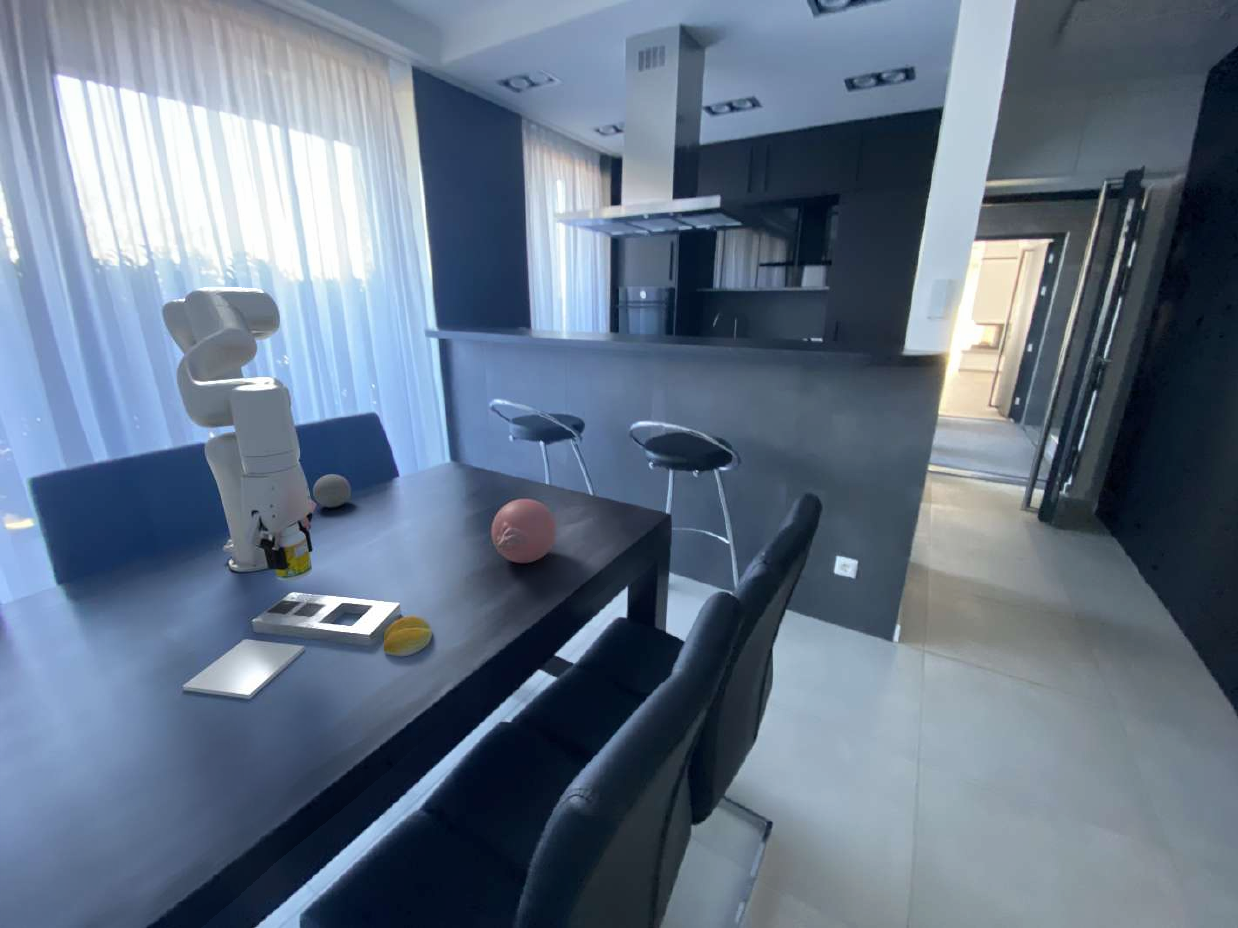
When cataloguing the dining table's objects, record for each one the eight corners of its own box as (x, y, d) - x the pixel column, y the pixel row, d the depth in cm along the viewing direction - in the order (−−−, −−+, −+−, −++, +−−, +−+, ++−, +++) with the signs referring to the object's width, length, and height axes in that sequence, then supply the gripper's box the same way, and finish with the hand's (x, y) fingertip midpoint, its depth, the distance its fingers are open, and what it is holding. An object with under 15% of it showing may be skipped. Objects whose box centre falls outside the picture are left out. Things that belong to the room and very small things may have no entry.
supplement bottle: (319, 568, 91) (310, 520, 88) (294, 584, 86) (283, 533, 83) (295, 564, 92) (285, 516, 89) (268, 579, 87) (257, 528, 84)
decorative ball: (360, 501, 158) (355, 471, 155) (336, 514, 148) (331, 482, 145) (333, 498, 160) (328, 468, 157) (308, 510, 151) (302, 479, 148)
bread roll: (383, 663, 89) (380, 644, 88) (386, 633, 97) (383, 615, 96) (432, 652, 92) (430, 634, 90) (431, 624, 100) (429, 606, 98)
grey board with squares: (254, 632, 96) (251, 620, 95) (293, 602, 106) (291, 591, 105) (371, 645, 93) (369, 633, 92) (401, 613, 102) (399, 602, 102)
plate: (183, 689, 82) (182, 685, 82) (245, 642, 93) (244, 639, 93) (249, 698, 80) (248, 694, 80) (304, 649, 92) (304, 646, 91)
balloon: (469, 577, 116) (463, 516, 111) (514, 540, 134) (511, 486, 129) (528, 590, 111) (525, 526, 107) (567, 550, 129) (566, 494, 125)
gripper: (287, 445, 91) (305, 536, 97) (203, 477, 75) (230, 584, 81) (326, 447, 90) (342, 539, 96) (250, 480, 74) (274, 587, 80)
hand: (291, 558), depth 88 cm, fingers closed on supplement bottle, 5 cm apart
